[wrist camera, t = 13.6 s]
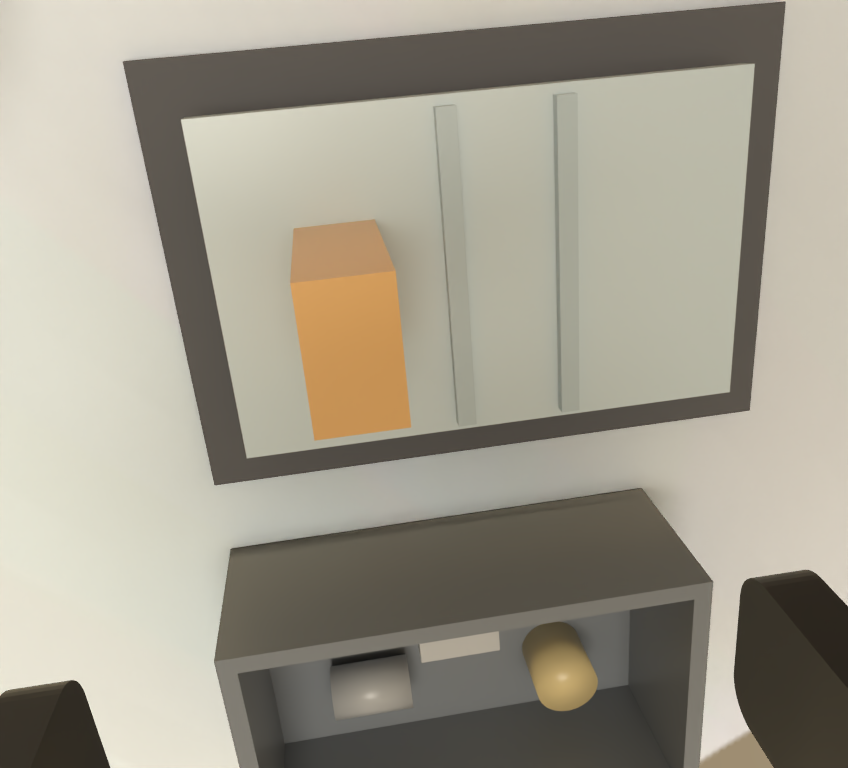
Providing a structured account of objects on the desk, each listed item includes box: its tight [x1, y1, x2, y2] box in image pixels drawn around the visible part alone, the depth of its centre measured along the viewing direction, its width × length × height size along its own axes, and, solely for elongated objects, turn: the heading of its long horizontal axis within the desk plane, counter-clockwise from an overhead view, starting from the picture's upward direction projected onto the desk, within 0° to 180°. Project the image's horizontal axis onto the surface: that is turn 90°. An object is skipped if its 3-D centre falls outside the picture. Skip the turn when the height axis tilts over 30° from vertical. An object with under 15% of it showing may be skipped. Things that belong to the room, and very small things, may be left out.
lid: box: [181, 63, 755, 458], centre depth 23 cm, size 17×11×8 cm, turn 95°
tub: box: [214, 488, 713, 768], centre depth 30 cm, size 16×10×6 cm, turn 95°
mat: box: [123, 2, 785, 485], centre depth 27 cm, size 20×14×1 cm
